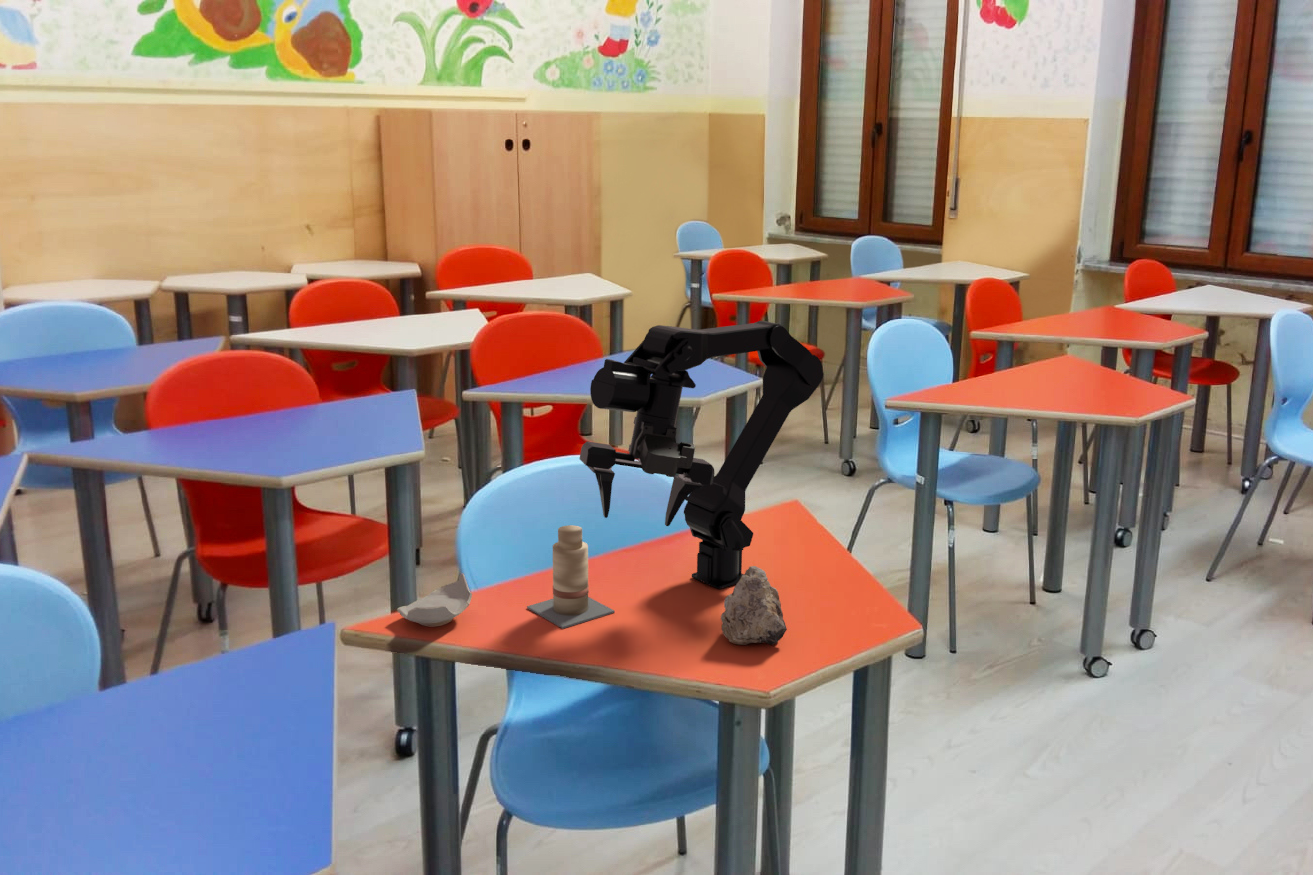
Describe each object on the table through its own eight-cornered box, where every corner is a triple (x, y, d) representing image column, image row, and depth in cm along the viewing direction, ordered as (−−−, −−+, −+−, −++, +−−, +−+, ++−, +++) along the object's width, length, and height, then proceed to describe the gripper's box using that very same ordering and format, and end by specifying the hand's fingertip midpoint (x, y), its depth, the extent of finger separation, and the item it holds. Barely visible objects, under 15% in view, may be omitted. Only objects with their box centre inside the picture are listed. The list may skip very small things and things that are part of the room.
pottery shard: (459, 601, 163) (458, 569, 162) (490, 629, 154) (490, 595, 153) (391, 615, 158) (389, 582, 156) (418, 645, 149) (417, 611, 147)
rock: (720, 666, 149) (755, 631, 143) (691, 595, 155) (724, 559, 148) (770, 658, 154) (806, 624, 148) (740, 590, 159) (773, 555, 153)
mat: (577, 593, 166) (577, 591, 166) (614, 612, 160) (614, 610, 159) (527, 608, 161) (527, 606, 161) (562, 628, 154) (562, 626, 154)
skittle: (585, 599, 163) (584, 522, 160) (591, 613, 158) (591, 534, 155) (550, 602, 162) (549, 524, 159) (555, 616, 157) (554, 536, 154)
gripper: (604, 412, 148) (583, 526, 150) (735, 434, 153) (713, 543, 154) (589, 401, 158) (569, 508, 160) (712, 422, 163) (691, 524, 165)
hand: (636, 521), depth 160 cm, fingers open, 9 cm apart
